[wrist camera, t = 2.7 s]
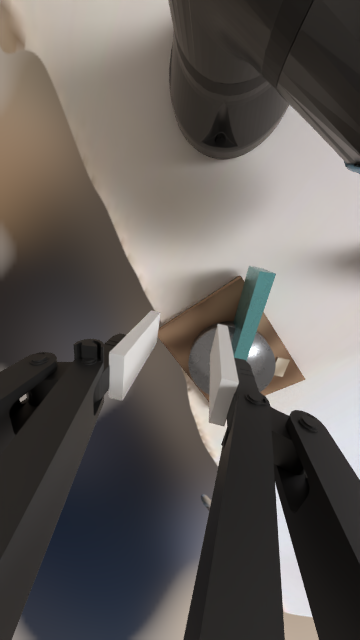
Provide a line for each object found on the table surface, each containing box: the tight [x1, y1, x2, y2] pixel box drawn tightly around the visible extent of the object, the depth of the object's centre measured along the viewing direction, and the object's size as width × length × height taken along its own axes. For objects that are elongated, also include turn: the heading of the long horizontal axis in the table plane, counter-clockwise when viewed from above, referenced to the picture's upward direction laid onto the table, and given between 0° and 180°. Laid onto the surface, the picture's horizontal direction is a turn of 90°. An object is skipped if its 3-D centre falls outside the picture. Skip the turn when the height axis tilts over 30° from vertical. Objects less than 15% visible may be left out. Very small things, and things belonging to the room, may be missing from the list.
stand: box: [158, 276, 305, 401], centre depth 35 cm, size 22×18×2 cm
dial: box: [188, 266, 276, 395], centre depth 29 cm, size 23×14×7 cm, turn 171°
